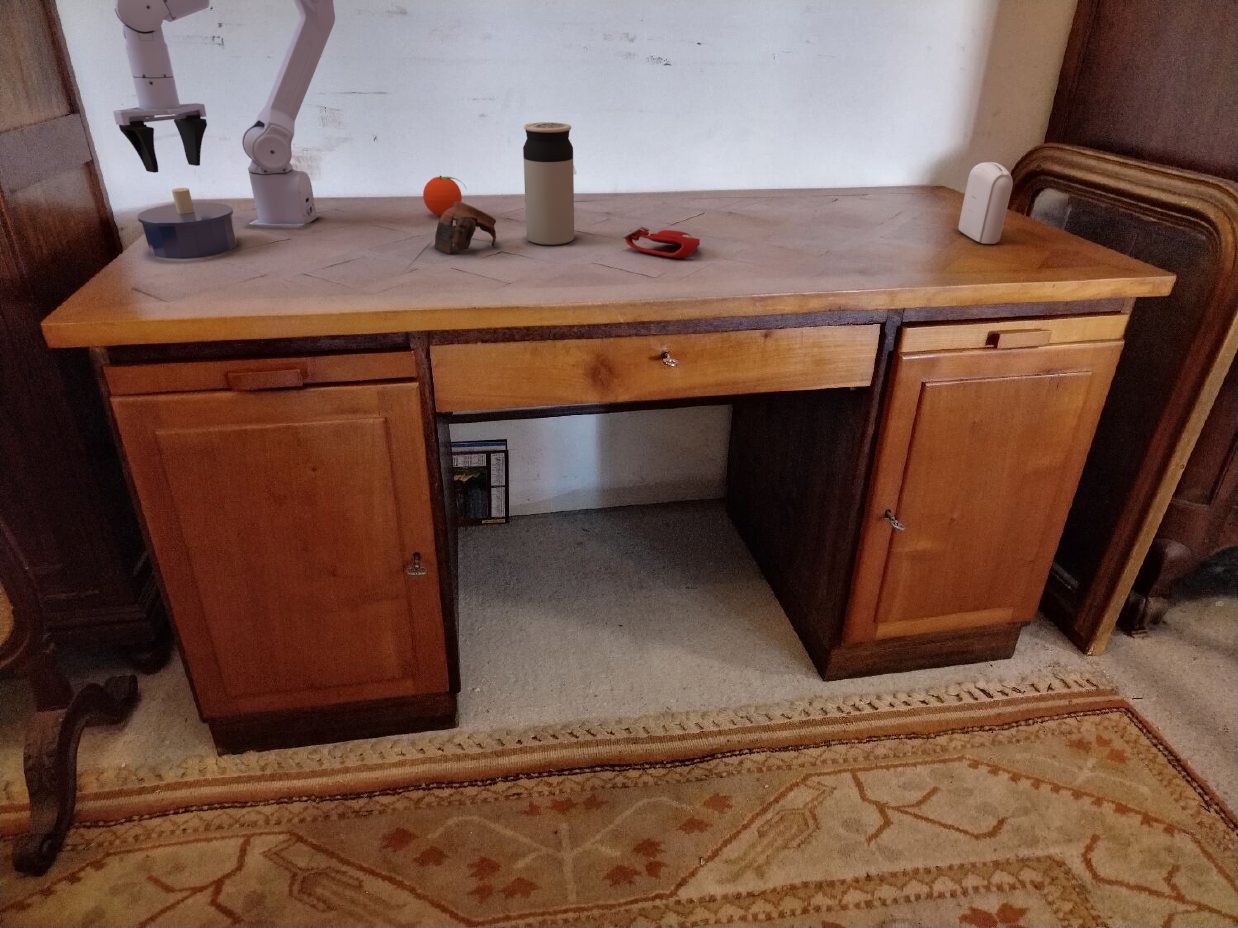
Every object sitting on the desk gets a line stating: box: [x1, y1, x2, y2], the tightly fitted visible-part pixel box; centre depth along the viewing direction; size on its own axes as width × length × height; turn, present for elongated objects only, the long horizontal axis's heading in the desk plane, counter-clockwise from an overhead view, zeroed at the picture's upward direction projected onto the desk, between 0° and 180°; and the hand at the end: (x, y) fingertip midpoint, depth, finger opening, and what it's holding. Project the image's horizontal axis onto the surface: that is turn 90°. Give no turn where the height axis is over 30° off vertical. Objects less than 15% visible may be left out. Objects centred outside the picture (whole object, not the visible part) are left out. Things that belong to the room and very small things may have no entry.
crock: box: [141, 215, 238, 260], centre depth 129 cm, size 12×12×6 cm
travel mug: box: [522, 121, 575, 246], centre depth 135 cm, size 8×8×18 cm
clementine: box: [422, 175, 467, 217], centre depth 151 cm, size 8×7×7 cm
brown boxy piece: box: [433, 201, 497, 255], centre depth 132 cm, size 12×10×8 cm
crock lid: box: [137, 187, 234, 226], centre depth 127 cm, size 13×13×4 cm
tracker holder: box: [621, 225, 701, 259], centre depth 132 cm, size 12×4×10 cm
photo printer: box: [957, 161, 1014, 245], centre depth 142 cm, size 10×4×12 cm, turn 2°
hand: (173, 168), depth 135 cm, fingers open, 7 cm apart
